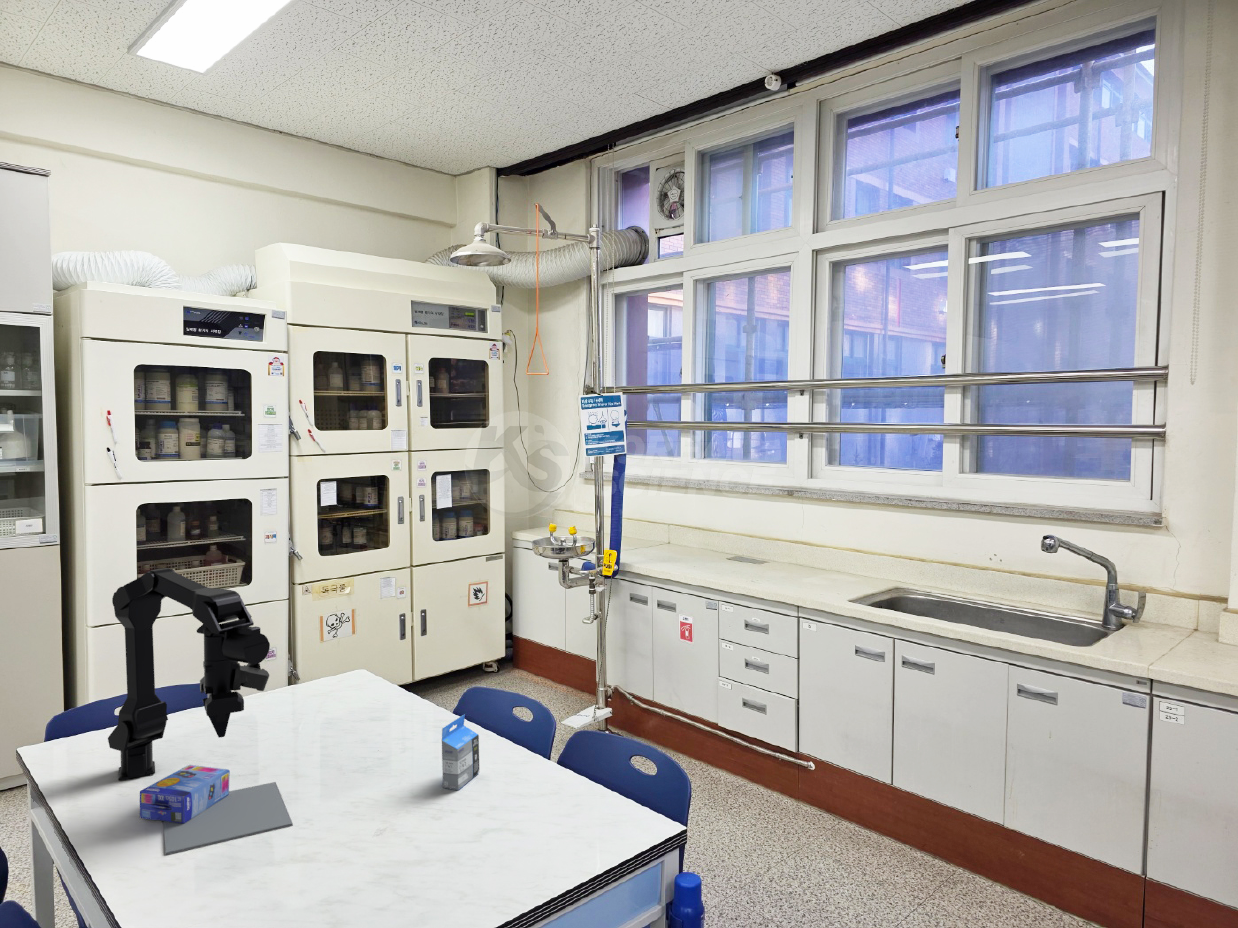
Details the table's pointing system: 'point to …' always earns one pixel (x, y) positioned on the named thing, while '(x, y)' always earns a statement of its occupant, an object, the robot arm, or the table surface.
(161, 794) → the ink cartridge box
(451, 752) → the label tape box
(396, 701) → the table surface
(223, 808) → the charcoal mat
